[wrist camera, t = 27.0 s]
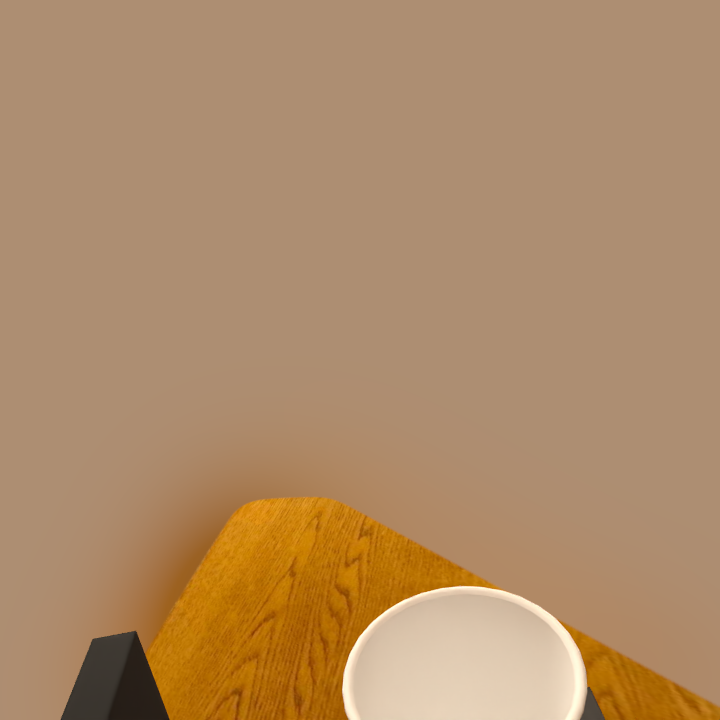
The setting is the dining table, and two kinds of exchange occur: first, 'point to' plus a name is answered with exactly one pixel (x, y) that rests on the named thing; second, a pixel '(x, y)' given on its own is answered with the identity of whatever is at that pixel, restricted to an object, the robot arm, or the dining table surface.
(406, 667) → the cup
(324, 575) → the dining table surface
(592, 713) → the scale
